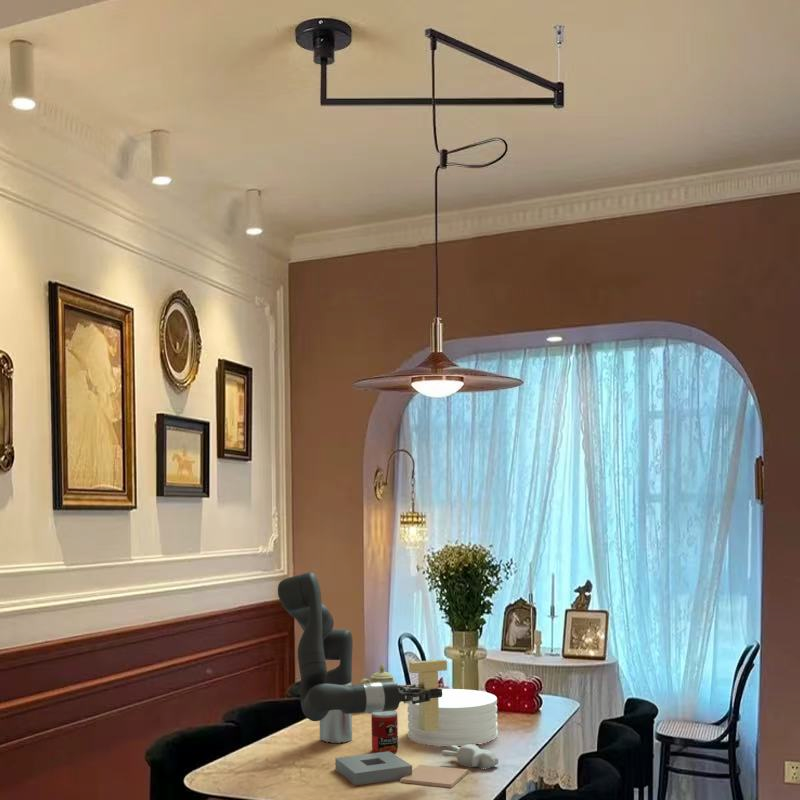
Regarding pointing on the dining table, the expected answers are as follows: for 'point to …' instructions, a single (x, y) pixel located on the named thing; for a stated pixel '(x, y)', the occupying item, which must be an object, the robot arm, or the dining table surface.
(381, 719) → the canned food
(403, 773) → the cover plate
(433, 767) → the tile
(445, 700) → the plate stack
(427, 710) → the t key
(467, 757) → the bunny figurine
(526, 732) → the dining table surface
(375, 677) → the sugar bowl
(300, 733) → the dining table surface
